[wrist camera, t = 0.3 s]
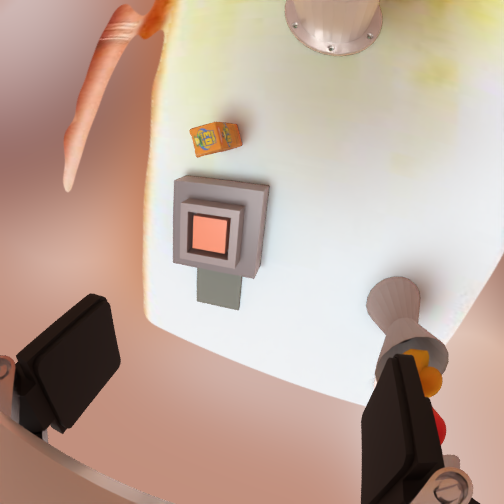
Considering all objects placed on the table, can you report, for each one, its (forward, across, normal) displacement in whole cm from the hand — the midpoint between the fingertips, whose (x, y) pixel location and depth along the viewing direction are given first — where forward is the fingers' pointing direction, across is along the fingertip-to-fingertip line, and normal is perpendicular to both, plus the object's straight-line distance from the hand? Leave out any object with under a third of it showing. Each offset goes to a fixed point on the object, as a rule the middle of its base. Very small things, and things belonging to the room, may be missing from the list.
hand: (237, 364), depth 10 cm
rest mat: (+35, +11, +17) cm, 40 cm away
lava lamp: (+35, -16, +15) cm, 41 cm away
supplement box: (+35, +10, -5) cm, 37 cm away
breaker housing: (+35, +11, +7) cm, 37 cm away
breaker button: (+32, +11, +7) cm, 34 cm away
